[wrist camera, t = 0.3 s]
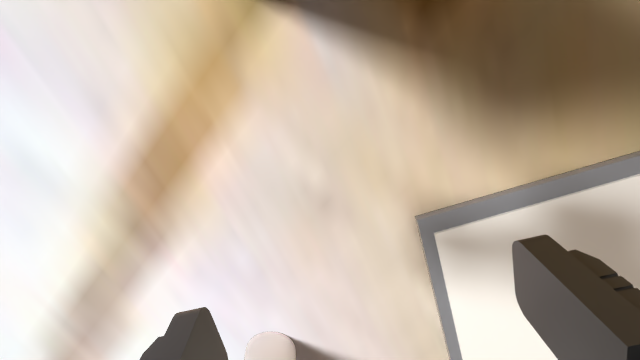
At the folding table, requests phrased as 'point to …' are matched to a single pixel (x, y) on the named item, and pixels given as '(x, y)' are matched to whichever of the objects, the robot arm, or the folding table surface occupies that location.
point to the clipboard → (515, 224)
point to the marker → (270, 347)
